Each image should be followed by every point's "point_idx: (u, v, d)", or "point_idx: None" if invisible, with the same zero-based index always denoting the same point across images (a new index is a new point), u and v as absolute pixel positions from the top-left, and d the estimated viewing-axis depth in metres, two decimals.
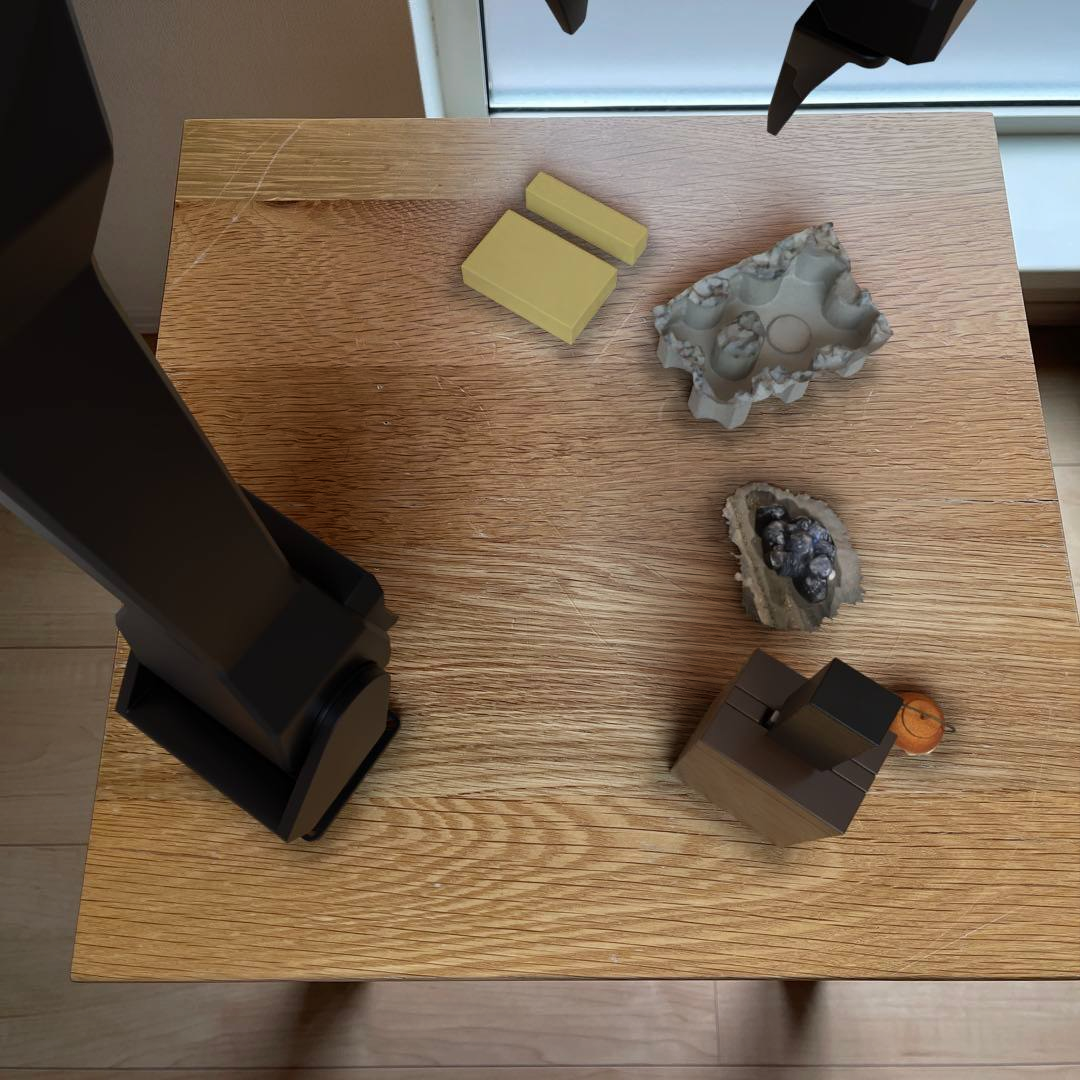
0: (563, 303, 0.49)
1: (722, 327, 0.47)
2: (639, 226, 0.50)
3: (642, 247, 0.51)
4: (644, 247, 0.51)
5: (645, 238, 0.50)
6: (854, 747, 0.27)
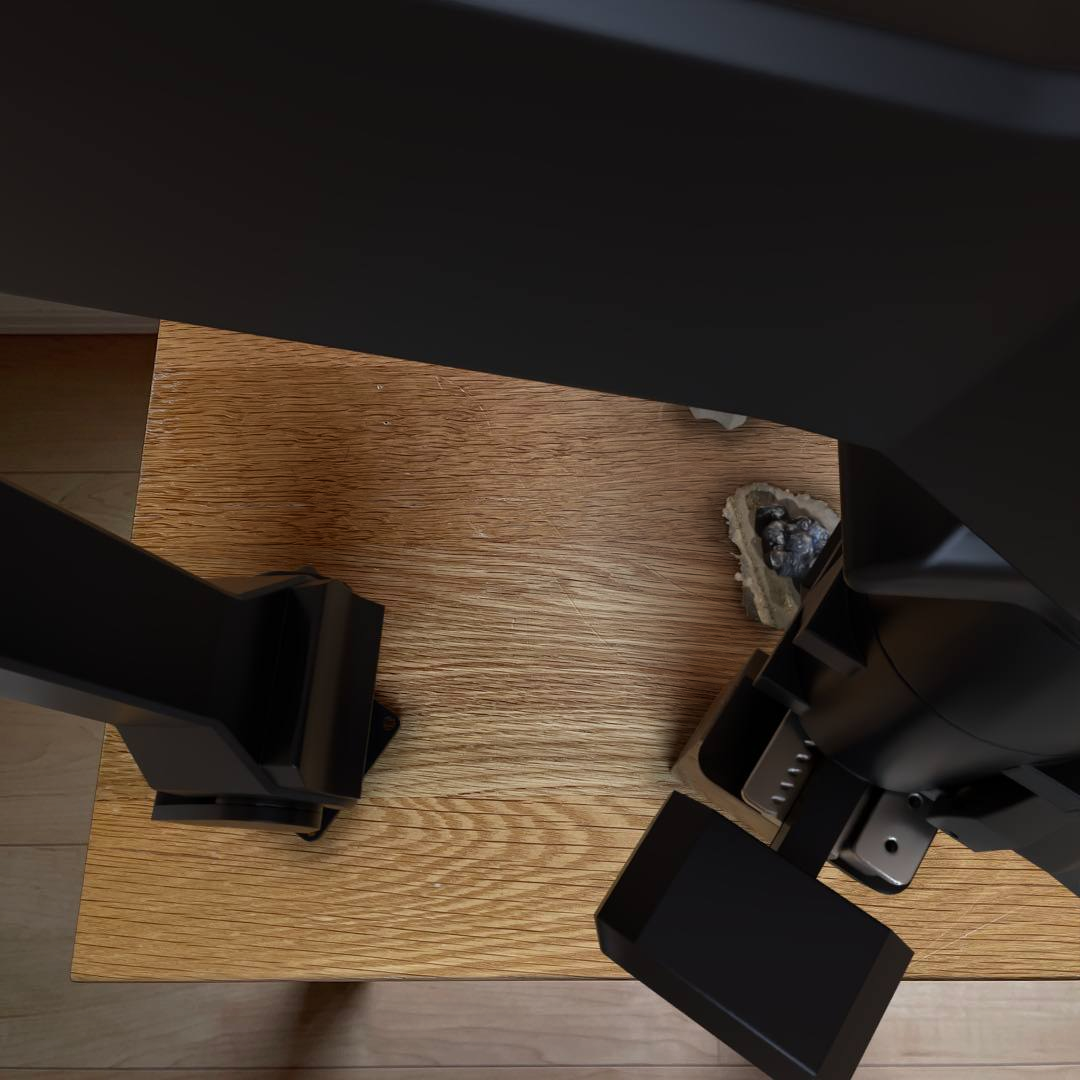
0: None
1: None
2: None
3: None
4: None
5: None
6: None
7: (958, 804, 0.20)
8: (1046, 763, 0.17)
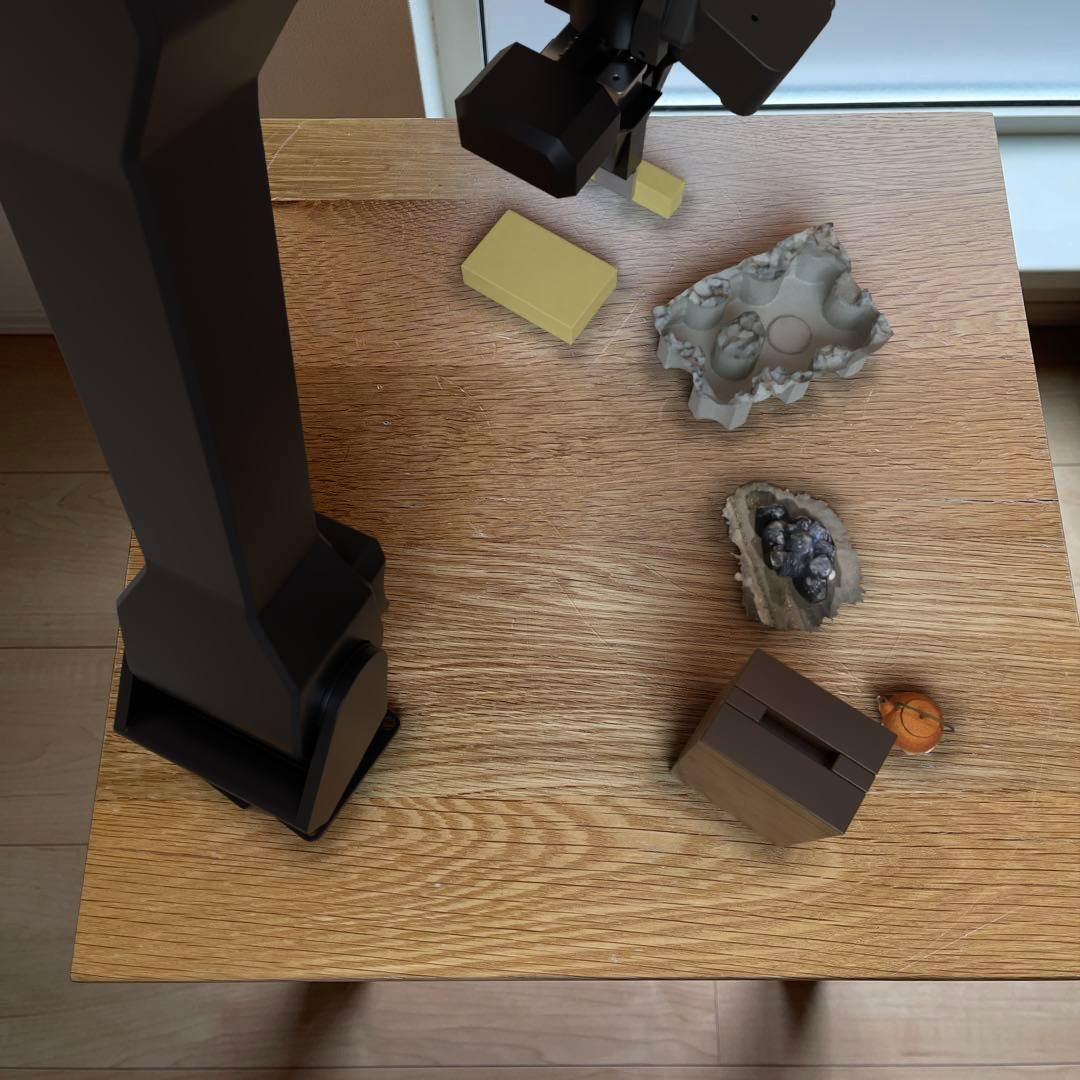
0: (563, 303, 0.49)
1: (722, 327, 0.47)
2: (676, 179, 0.51)
3: (678, 201, 0.52)
4: (680, 201, 0.52)
5: (681, 191, 0.51)
6: None
7: None
8: None
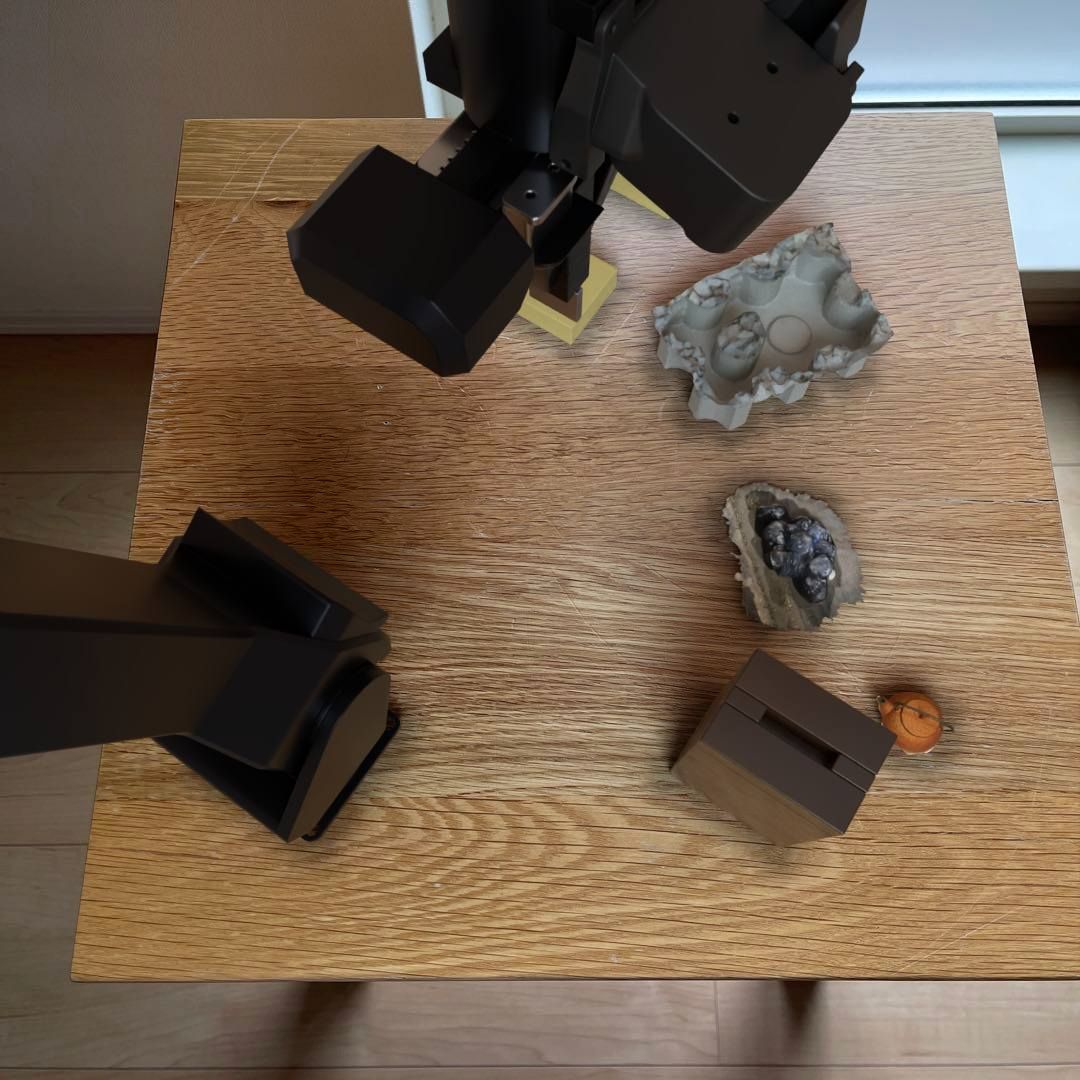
0: None
1: (722, 328, 0.47)
2: None
3: None
4: None
5: None
6: None
7: None
8: None
